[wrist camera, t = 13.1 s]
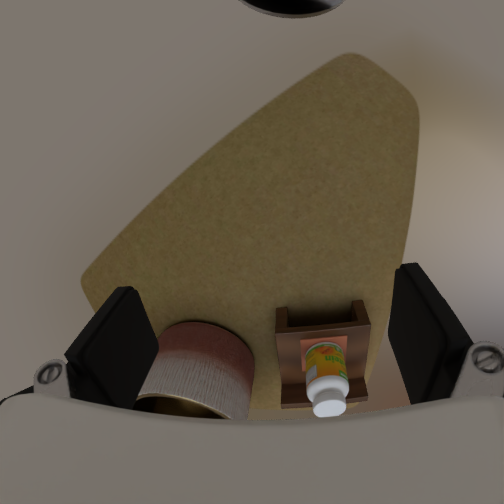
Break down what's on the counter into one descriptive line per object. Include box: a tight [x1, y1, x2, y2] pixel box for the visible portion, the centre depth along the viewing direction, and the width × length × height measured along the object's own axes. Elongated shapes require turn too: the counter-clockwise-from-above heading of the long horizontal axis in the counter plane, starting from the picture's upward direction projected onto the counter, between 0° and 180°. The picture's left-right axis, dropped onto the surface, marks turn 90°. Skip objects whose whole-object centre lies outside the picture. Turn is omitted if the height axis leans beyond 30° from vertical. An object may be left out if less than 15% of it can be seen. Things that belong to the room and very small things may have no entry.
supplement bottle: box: [305, 342, 349, 417], centre depth 35 cm, size 5×5×10 cm
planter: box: [132, 322, 254, 420], centre depth 43 cm, size 18×18×16 cm
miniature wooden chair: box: [275, 300, 371, 409], centre depth 41 cm, size 12×13×10 cm
